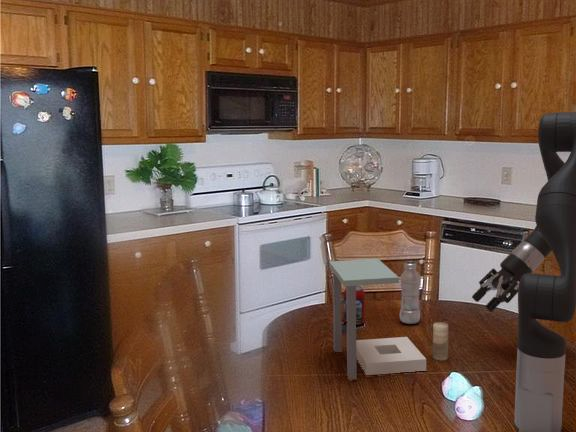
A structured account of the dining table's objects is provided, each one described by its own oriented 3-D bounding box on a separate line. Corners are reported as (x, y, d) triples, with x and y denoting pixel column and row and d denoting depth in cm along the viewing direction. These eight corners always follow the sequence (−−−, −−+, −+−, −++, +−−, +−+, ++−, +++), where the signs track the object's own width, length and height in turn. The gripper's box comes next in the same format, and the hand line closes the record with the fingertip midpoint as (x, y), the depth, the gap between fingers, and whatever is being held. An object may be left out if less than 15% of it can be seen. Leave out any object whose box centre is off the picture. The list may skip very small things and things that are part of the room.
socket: (406, 348, 168) (406, 336, 167) (426, 371, 152) (426, 359, 152) (352, 352, 166) (352, 340, 166) (366, 376, 151) (366, 363, 150)
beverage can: (340, 325, 188) (340, 289, 186) (348, 318, 194) (348, 283, 192) (360, 328, 185) (360, 291, 183) (367, 321, 191) (367, 286, 189)
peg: (445, 361, 158) (446, 328, 157) (431, 358, 160) (431, 325, 159) (449, 356, 162) (450, 323, 160) (435, 353, 164) (435, 321, 162)
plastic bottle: (395, 321, 190) (395, 261, 187) (412, 318, 193) (412, 259, 190) (407, 327, 184) (407, 266, 181) (424, 324, 187) (425, 263, 184)
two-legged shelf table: (377, 347, 169) (377, 258, 165) (398, 377, 149) (399, 277, 145) (330, 351, 168) (329, 261, 163) (345, 381, 148) (343, 280, 144)
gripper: (500, 247, 166) (461, 288, 166) (526, 258, 152) (483, 303, 152) (518, 264, 167) (478, 305, 168) (545, 277, 153) (502, 322, 154)
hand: (480, 304), depth 160 cm, fingers open, 8 cm apart
